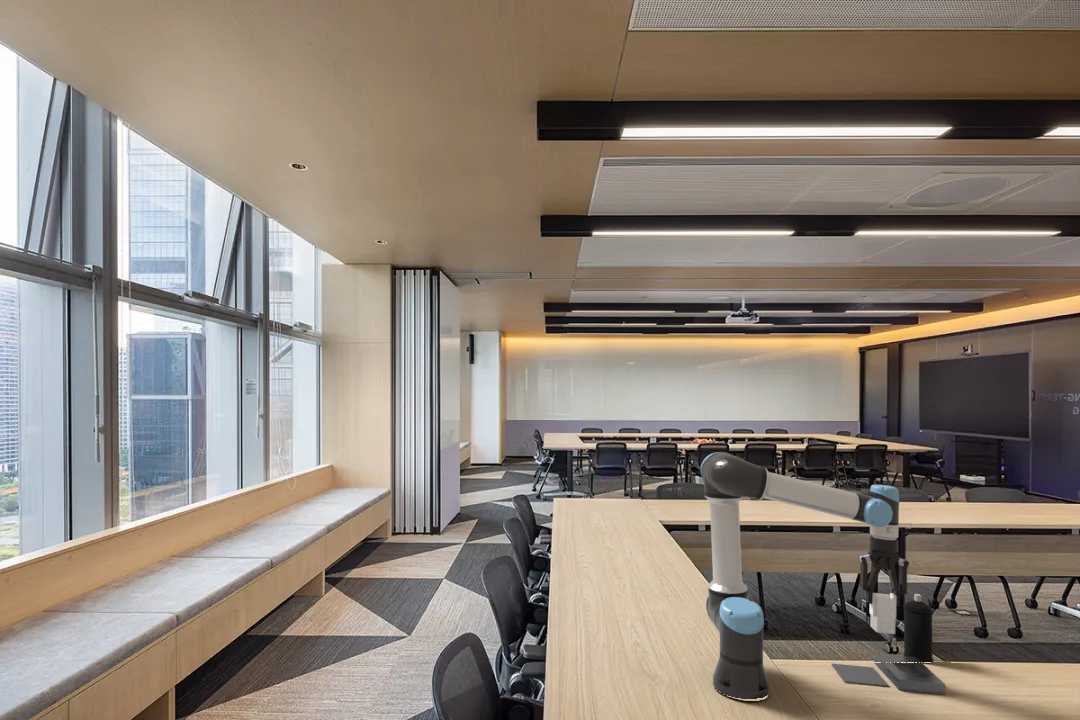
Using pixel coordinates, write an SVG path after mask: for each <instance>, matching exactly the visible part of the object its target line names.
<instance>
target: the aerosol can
mask: <svg viewBox="0 0 1080 720" xmlns="http://www.w3.org/2000/svg"><path fill="white" fill-rule="evenodd" d="M913 595H914V597H913V600H909V601H907V602H905V603H904V604H903V605H902V607H903V630H904V631H903V641H904V642H903V650H904V652H903V655H902V656H910V657H916V658H917V659H918V660H919V661H920V662H932V663H933V662H934V659H933V612H934V610H933V609H932V608H931V607H930V605H929V604H927V603H926V602H923V601H922V595H921V594H919V593H914V594H913Z"/></svg>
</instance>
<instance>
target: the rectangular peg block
mask: <svg viewBox="0 0 1080 720" xmlns="http://www.w3.org/2000/svg"><path fill="white" fill-rule="evenodd" d="M874 593H875V594H876V616H872V615H871V614H870V620H869V621H870V627H871V628H872V629H873V630H874V631H875V632H876V633H878V634H879V633H880V634H888V635H890V634H892V635H896V618H895V610H896V611H897V606H896V600H895V599H894V598H892V597H891V596H890V593H888V594H887V593H879V592H878V593H877V592H874Z"/></svg>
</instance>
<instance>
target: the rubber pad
mask: <svg viewBox="0 0 1080 720" xmlns="http://www.w3.org/2000/svg"><path fill="white" fill-rule="evenodd" d="M830 666H832V668H833V669H834V670H835V672H836V673H837V675H839V677H840V678H841V679H842V681H843V682H844V683H845V684H853V685H855V684H856V685H863V686H864V685H865V686H875V687H885V688H889V687H890V685H889V684H888V682H887V681H885V679H884V678H883V677H882V676H881V674H879V673H878V671H877V670H876V669H875V667H873V666H861V665H851V664H843V663H841V664H840V663H831V665H830Z"/></svg>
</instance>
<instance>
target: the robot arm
mask: <svg viewBox="0 0 1080 720" xmlns="http://www.w3.org/2000/svg"><path fill="white" fill-rule="evenodd" d="M700 475H701V478H702V481H703V487H704V488H703V489H704V498H706V500H707V501H708V502H709V509H710V511H709V513H710V536H711V558H712V559H711V561H712V580H711V581H710V582H709V583H708V586H707V588H708V590H707V591H708V594H707V597H706V600H705V608H706V612H707V616H708V617H709V618H708V619H710V621H711V622H712V624H713V626H714V627H715V629H716V630H717V631H718V632H719V658H718V660H717V663H716V667H715V669H714V673H713V674H712V675H713V676H712V686H713V685H714V687H715V688H716V689H717V690H718V691H720V692H721V693H723V694H725V695H728V696H731V697H735V698H741V699H757V698H763V697H765V696H767V695H768V694H769V695H770V692H769V691H771V690H770V683H769V680H768V676H767V673H766V670H765V666H764V625H765V617H764V611H763V609H762V607H761V606H760V605H759V604H758V603H756V602H755V601H751V600H750V599H749V588H748V586H747V585H746V584H745V583H744V582H743V571H742V570H743V569H742V568H743V566H742V546H741V523H740V521H741V520H740V502H741V501H742V500H743V499H744V498H747V499H751V500H754V501H755V500H756V501H761V500H762V499H767V500H771V501H775V502H779V503H783V504H788V505H791V506H795V507H800V508H805V509H808V510H812V511H816V512H819V513H823V514H828V515H833V516H836V517H840V518H846V519H849V520H853V521H857V522H860V523H864V524H867V525H869V534H870V536H869V551H868V552H867V554H866V555H858V560H859V562H860V567H859V571H860V572H859V587H860V588H861V589H862V590H863V591H865V592H866V599H865V601H866V602H867V603H868V604H869V610H868V611H869V614H870V616H871V615H872V616H876V594H875V593H876V592H875V591H874V590H875V587H876V584H877V581H878V577H879V574H880V573H881V570H884V569H885V570H886V571H887V574H888V578H889V582H890V587H891V590H892V592H890V593H889V595H890V596H891V597H892V598H894V599H895V600H896V607H900V602H901V601H900V597H902V595H907V594H908V569H909V568H908V567H909V565H910V562H909V561H908V560H907V559H905V558H901V557H900V555H899V540H898V538H899V527H900V526H899V519H900V518H899V513H900V512H899V511H900V509H899V508H900V504H901V503H900V495H899V493H900V492H899V489H898V488H897V487H895V486H892V485H886V484H872V485H871V486H870V488H869V490H866V491H864V490H850V489H843V488H842V489H840V488H835V487H831V486H828V485H824V484H819V483H816V482H815V483H814V482H811V481H808V480H804V479H803V480H802V479H799V478H796V477H790V476H786V475H782V474H778V473H774V472H770V471H769V470H768V469H767V467H765V466H761V465H758V464H755V463H751V462H748V461H746V460H744V459H743V458H740V457H739V456H737V455H733V454H731V453H729V452H724V451H718V452H717V451H716V452H712V453H710V454H708V455H707V456H706V457H705V458H704V459H703V461H702V463H701V465H700ZM869 561H871V563H872V564H871V569H870V570H871V571H870V574H869V578H868V569H869V568H868V563H869ZM897 563H898V579H897V574H896V569H895V566H896V564H897ZM895 619H897V609H896V610H895ZM714 687H713V688H714ZM715 688H714V689H715ZM718 691H717V692H718Z"/></svg>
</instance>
